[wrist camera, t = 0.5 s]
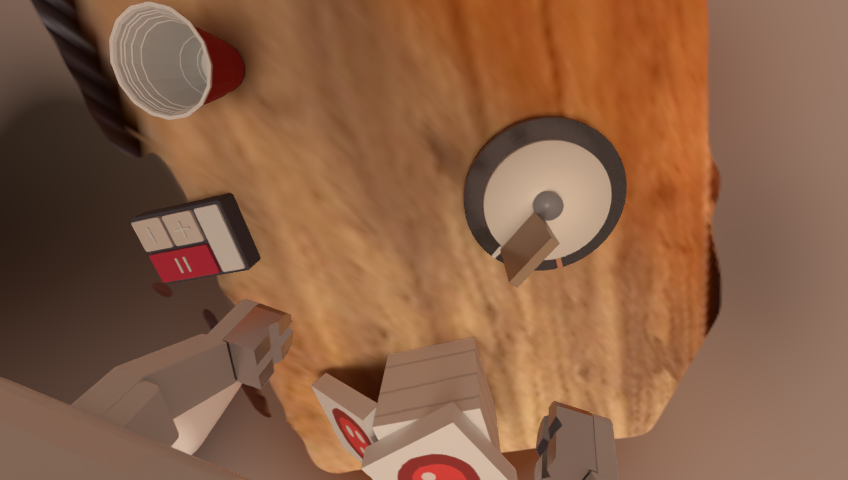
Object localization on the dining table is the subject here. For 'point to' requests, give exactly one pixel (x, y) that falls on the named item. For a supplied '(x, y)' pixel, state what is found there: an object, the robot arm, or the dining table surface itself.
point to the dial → (545, 203)
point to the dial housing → (529, 133)
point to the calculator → (197, 239)
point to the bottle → (201, 420)
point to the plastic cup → (170, 61)
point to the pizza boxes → (421, 417)
